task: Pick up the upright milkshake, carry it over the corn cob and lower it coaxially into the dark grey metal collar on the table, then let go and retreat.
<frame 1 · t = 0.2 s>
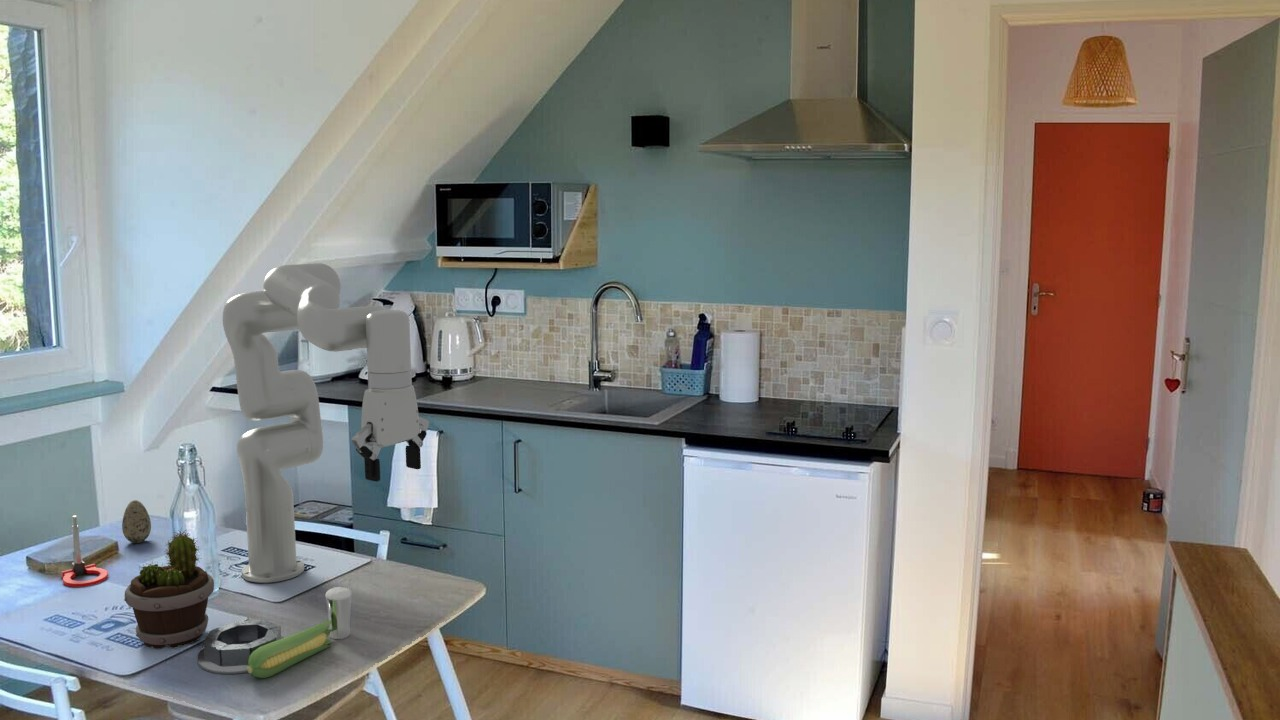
hand: (393, 474, 189), 30 cm above the table, tool pointing down, fingers open, 9 cm apart
flowerpot: (173, 639, 192), on the table
decorative egg: (138, 543, 242), on the table
collar: (243, 654, 185), on the table
edible corn: (296, 661, 183), on the table, touching milkshake
milkshake: (342, 635, 193), on the table, touching edible corn
tow hook: (85, 580, 220), on the table
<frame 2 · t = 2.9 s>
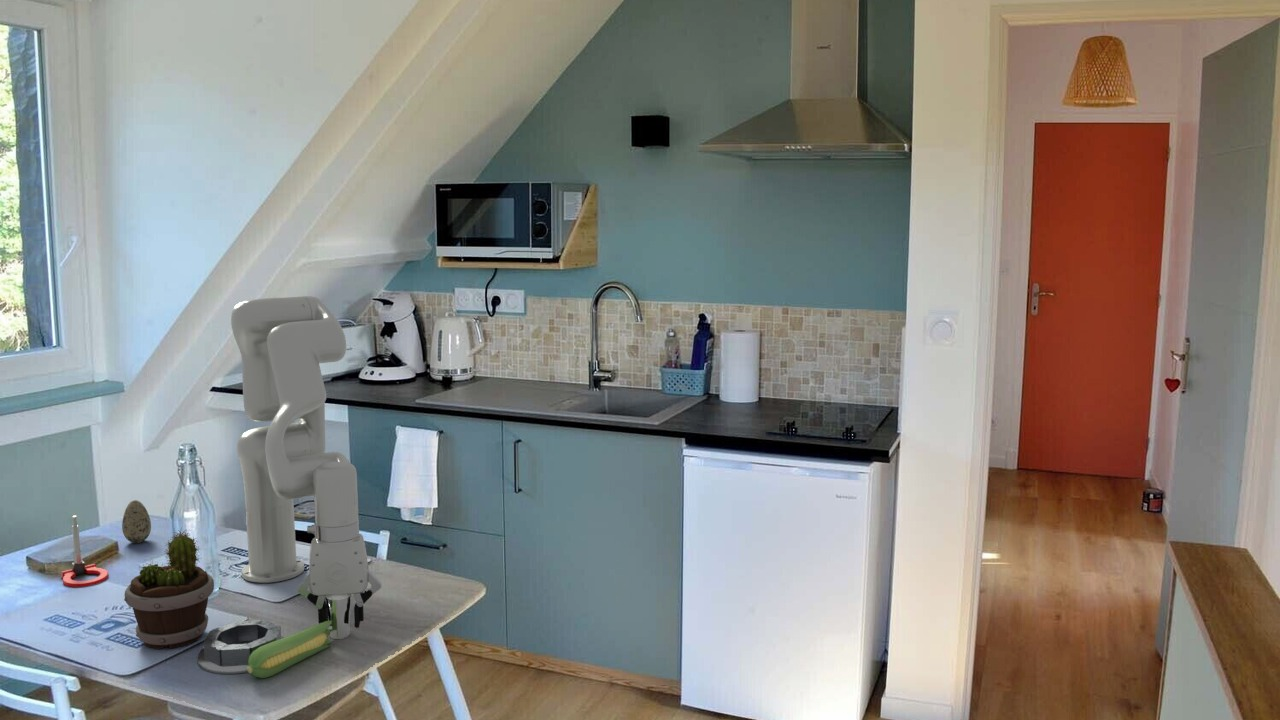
hand: (341, 624, 193), 2 cm above the table, tool pointing down, fingers open, 5 cm apart
edible corn: (296, 661, 183), on the table, touching gripper, milkshake
everything else where it was.
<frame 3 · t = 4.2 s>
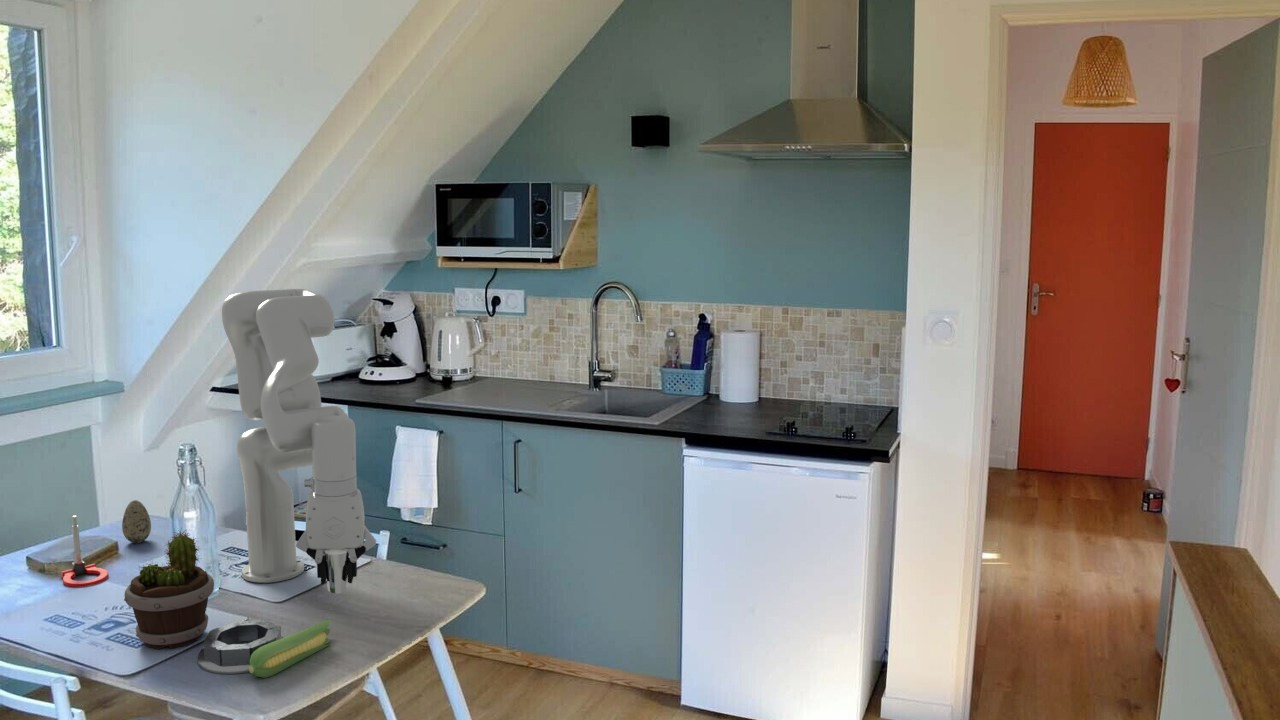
hand: (337, 579, 193), 10 cm above the table, tool pointing down, fingers closed on milkshake, 4 cm apart
edible corn: (296, 661, 184), on the table
milkshake: (339, 590, 193), point 8 cm above the table, touching gripper
everything else where it was.
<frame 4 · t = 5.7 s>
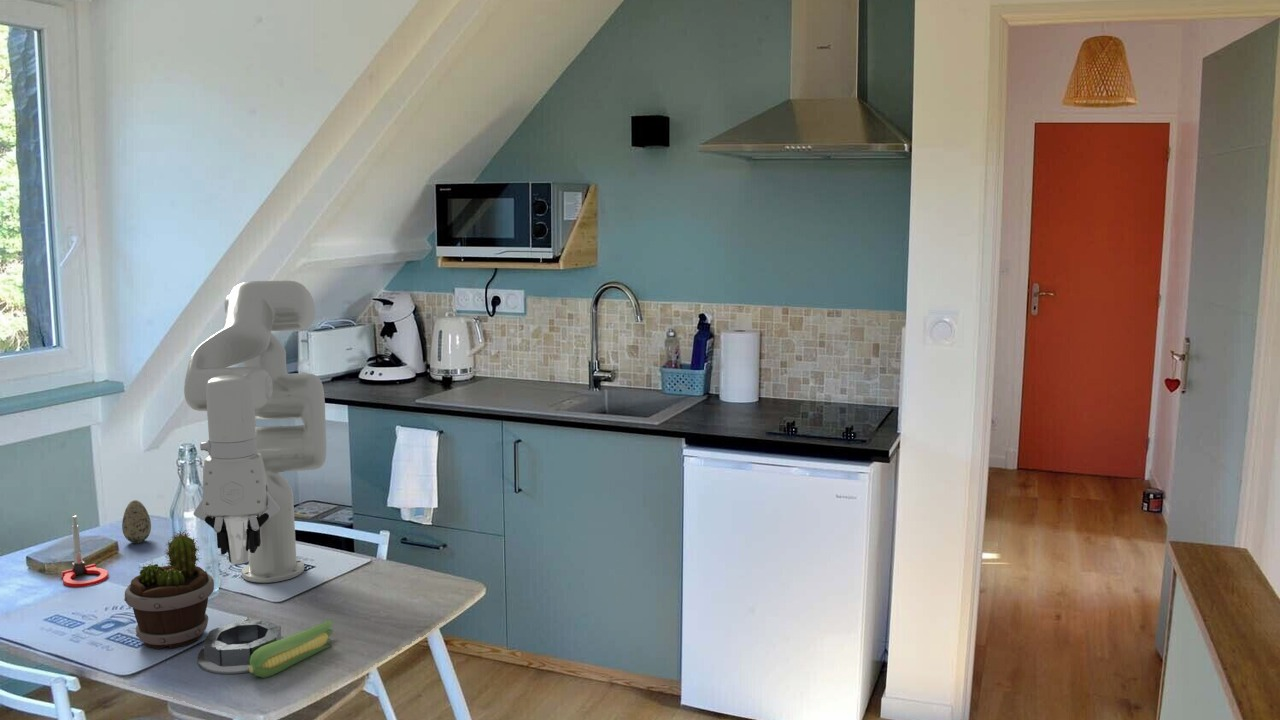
hand: (239, 550, 182), 19 cm above the table, tool pointing down, fingers closed on milkshake, 4 cm apart
edible corn: (297, 661, 184), on the table, touching collar
milkshake: (241, 561, 182), point 17 cm above the table, touching gripper
everything else where it was.
when the fingers open (4 cm above the table, at t = 8.4 s): milkshake drops 2 cm, resting on collar.
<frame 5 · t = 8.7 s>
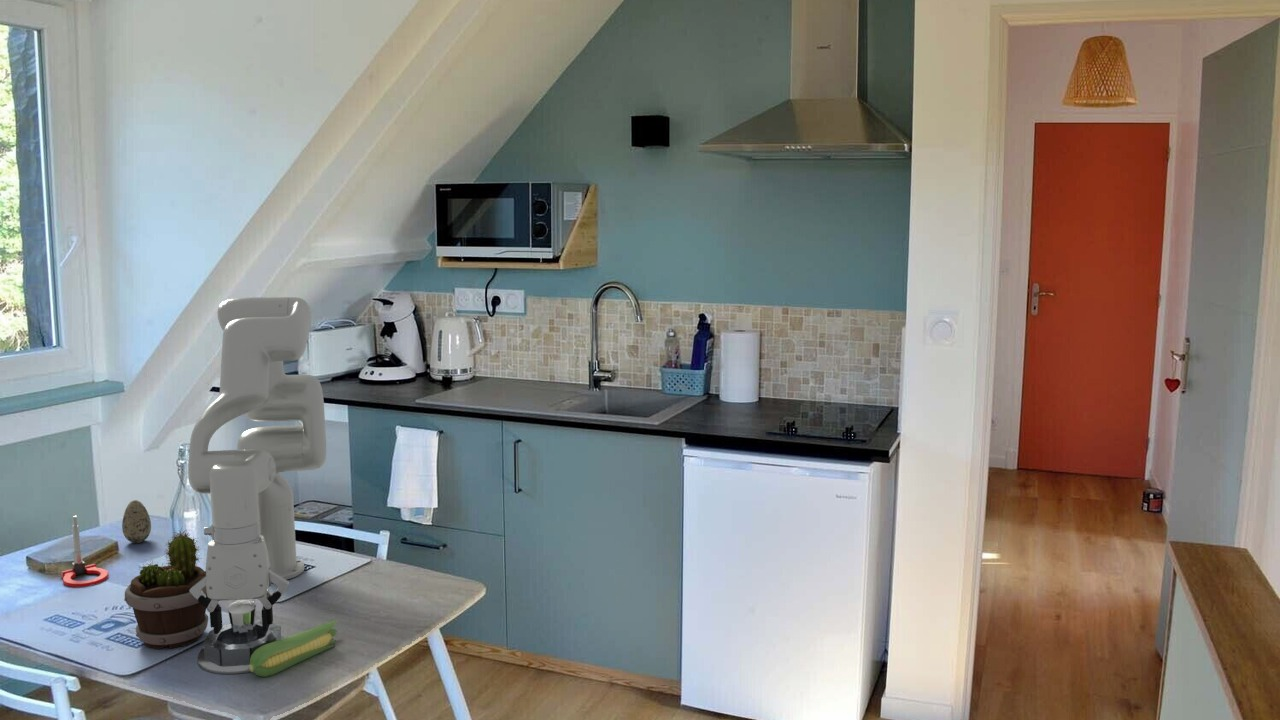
hand: (242, 628, 184), 5 cm above the table, tool pointing down, fingers open, 7 cm apart
edible corn: (300, 661, 184), on the table
milkshake: (246, 651, 185), point 1 cm above the table, touching collar
everything else where it was.
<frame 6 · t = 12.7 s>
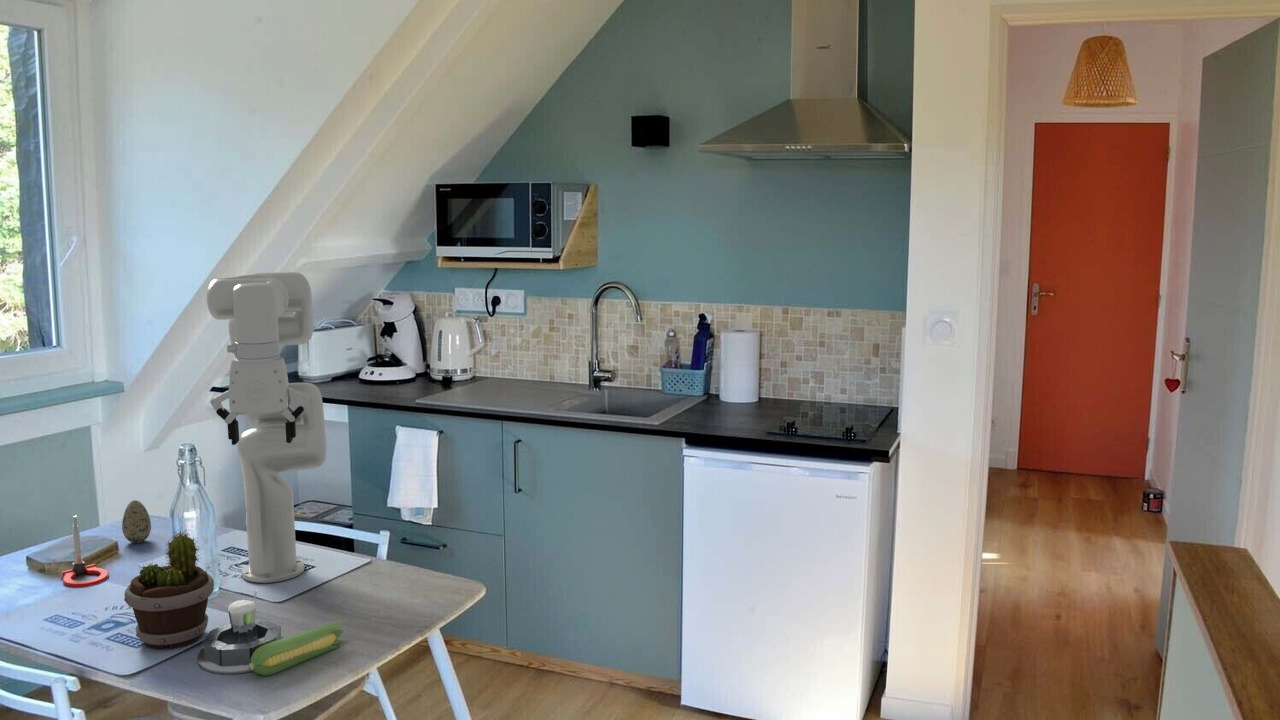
hand: (262, 442, 195), 34 cm above the table, tool pointing down, fingers open, 9 cm apart
at the end: milkshake 0.5 cm off-centre on the collar, point 0.6 cm above the collar's base; milkshake tilted 0°; the gripper is holding nothing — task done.
